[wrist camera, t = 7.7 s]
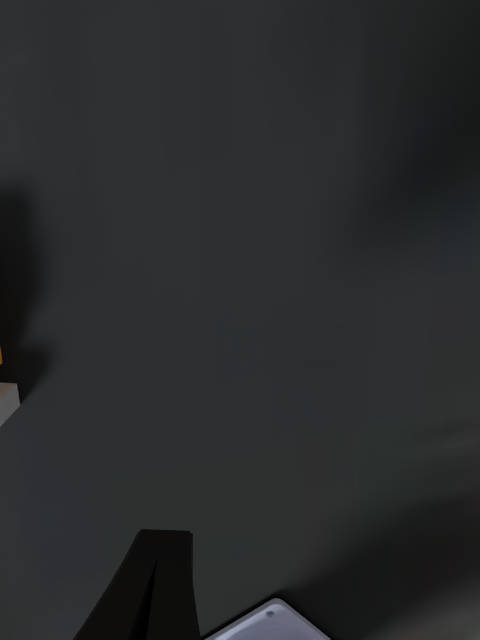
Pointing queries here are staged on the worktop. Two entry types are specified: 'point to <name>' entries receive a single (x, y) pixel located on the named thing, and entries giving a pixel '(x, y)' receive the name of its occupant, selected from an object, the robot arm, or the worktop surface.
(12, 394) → the pale green toy truck
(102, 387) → the worktop surface
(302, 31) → the worktop surface
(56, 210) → the worktop surface
